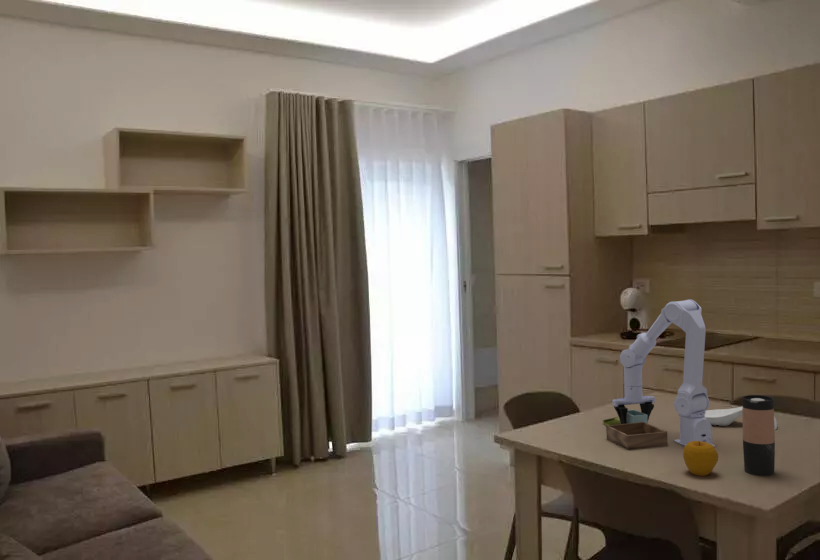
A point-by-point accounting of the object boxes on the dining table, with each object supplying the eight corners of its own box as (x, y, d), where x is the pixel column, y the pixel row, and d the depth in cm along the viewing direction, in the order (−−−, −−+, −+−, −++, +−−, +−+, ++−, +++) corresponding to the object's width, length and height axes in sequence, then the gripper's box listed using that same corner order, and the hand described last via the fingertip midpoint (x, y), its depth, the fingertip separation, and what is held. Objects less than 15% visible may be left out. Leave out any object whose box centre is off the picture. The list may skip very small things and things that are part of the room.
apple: (723, 473, 187) (722, 440, 187) (710, 481, 181) (709, 447, 181) (692, 467, 194) (691, 435, 193) (678, 474, 188) (677, 442, 187)
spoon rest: (696, 426, 235) (696, 405, 235) (701, 418, 246) (701, 398, 245) (775, 433, 223) (775, 411, 223) (778, 425, 233) (777, 403, 233)
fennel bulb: (633, 415, 245) (601, 422, 244) (634, 404, 242) (601, 412, 241) (641, 426, 240) (608, 434, 239) (642, 416, 237) (608, 424, 236)
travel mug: (765, 467, 191) (764, 394, 190) (781, 476, 183) (780, 400, 182) (738, 468, 191) (736, 395, 190) (752, 477, 183) (751, 401, 182)
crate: (667, 446, 214) (667, 431, 214) (628, 450, 211) (627, 436, 211) (644, 435, 227) (643, 421, 226) (606, 439, 224) (606, 425, 224)
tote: (635, 427, 237) (634, 409, 237) (648, 432, 230) (647, 414, 229) (621, 428, 236) (621, 410, 236) (634, 434, 228) (633, 416, 228)
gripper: (646, 381, 238) (647, 420, 238) (607, 384, 235) (608, 424, 235) (658, 385, 231) (659, 425, 231) (618, 388, 228) (619, 430, 228)
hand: (634, 425), depth 233 cm, fingers open, 7 cm apart
